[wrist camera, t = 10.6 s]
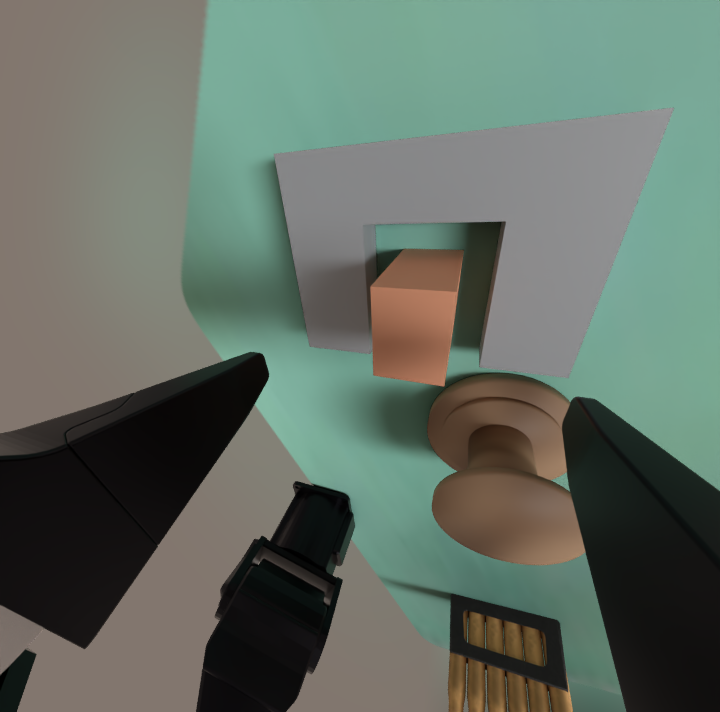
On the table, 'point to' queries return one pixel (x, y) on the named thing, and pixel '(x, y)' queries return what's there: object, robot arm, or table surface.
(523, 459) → the brown door knob
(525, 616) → the ammunition clip
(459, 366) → the table surface
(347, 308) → the notched board
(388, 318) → the tab
